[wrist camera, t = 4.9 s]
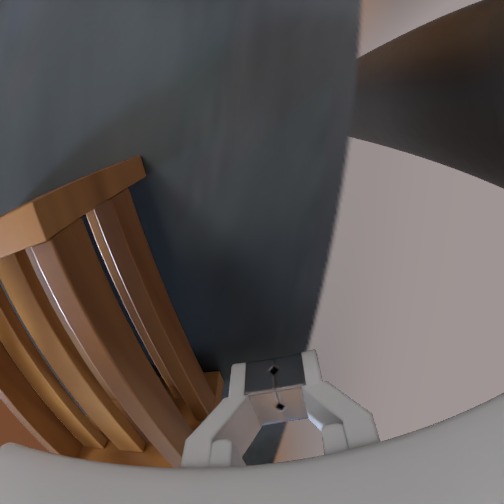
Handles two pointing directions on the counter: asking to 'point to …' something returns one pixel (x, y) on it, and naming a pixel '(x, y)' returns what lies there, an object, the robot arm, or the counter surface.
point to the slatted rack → (95, 329)
